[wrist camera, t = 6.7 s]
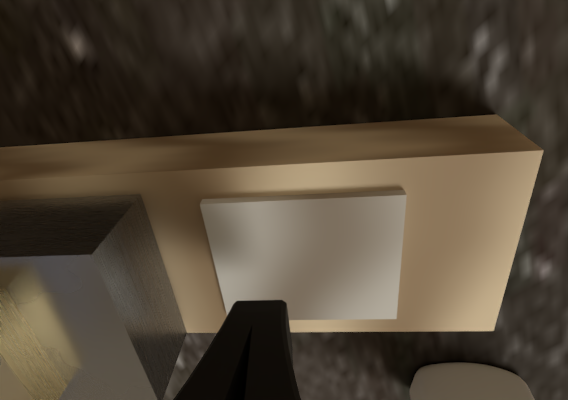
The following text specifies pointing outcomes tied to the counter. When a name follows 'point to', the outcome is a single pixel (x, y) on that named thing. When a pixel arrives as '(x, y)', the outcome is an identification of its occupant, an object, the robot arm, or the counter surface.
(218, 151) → the body
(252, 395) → the robot arm
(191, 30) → the counter surface
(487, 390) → the eye dropper bottle
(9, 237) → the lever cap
